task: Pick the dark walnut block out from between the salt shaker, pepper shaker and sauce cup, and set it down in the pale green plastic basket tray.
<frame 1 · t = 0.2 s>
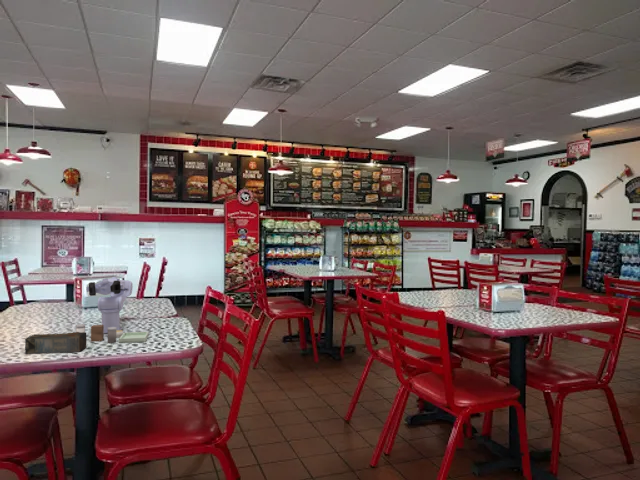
hand: (101, 289, 191), 21 cm above the table, tool horizontal, fingers open, 7 cm apart
walnut block: (97, 340, 193), on the table
basket tray: (134, 339, 195), on the table
salt shaker: (80, 339, 194), on the table
sauce cup: (117, 336, 200), on the table
beverage carton: (56, 351, 175), on the table
pepper shaker: (112, 342, 189), on the table
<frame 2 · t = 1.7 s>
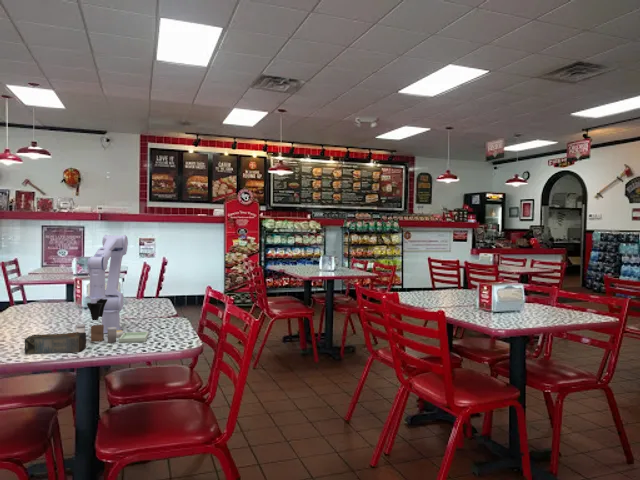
hand: (97, 318, 193), 9 cm above the table, tool pointing down, fingers open, 7 cm apart
nothing on the table moved.
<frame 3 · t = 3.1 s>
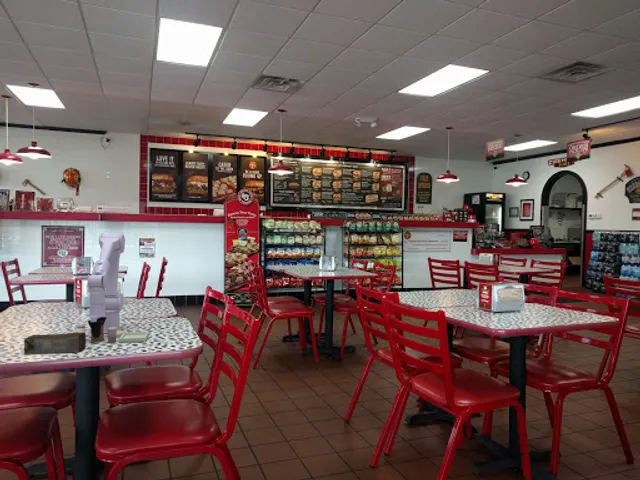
hand: (97, 336, 193), 2 cm above the table, tool pointing down, fingers closed on walnut block, 4 cm apart
walnut block: (97, 340, 193), on the table, touching gripper
everything else where it was.
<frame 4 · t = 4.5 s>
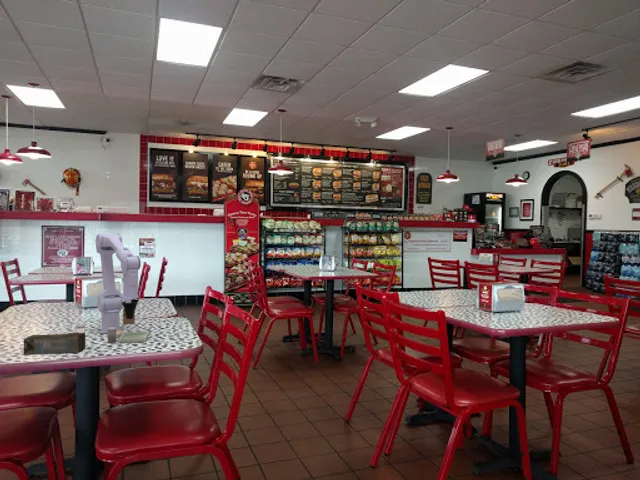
hand: (130, 318, 194), 9 cm above the table, tool pointing down, fingers closed on walnut block, 4 cm apart
walnut block: (129, 323, 194), point 7 cm above the table, touching gripper
everything else where it was.
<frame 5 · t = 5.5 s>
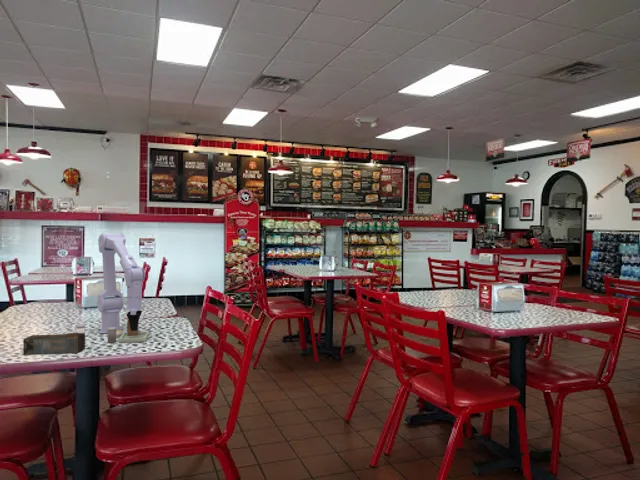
hand: (134, 329, 195), 4 cm above the table, tool pointing down, fingers closed on walnut block, 4 cm apart
walnut block: (132, 334, 195), point 2 cm above the table, touching gripper
when the fingers open (3 cm above the table, at t = 6.1 s): walnut block stays where it is, resting on basket tray.
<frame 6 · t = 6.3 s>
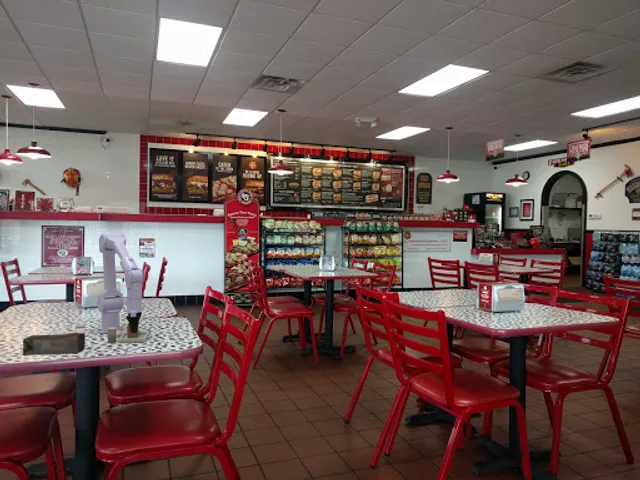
hand: (134, 331, 195), 3 cm above the table, tool pointing down, fingers open, 6 cm apart
walnut block: (132, 338, 195), point 1 cm above the table, touching basket tray
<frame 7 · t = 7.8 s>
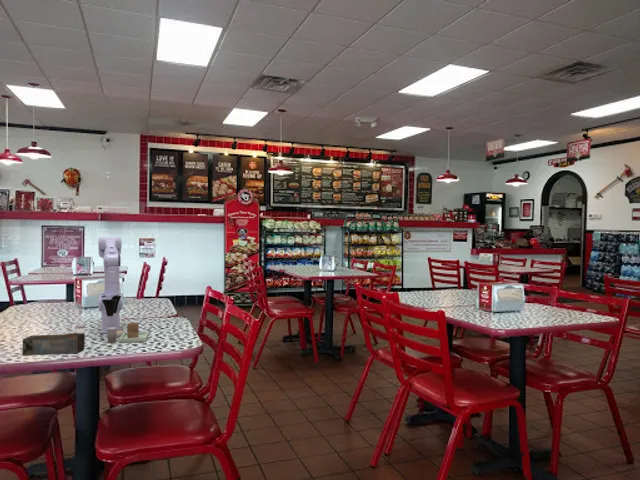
hand: (111, 314, 197), 10 cm above the table, tool pointing down, fingers open, 7 cm apart
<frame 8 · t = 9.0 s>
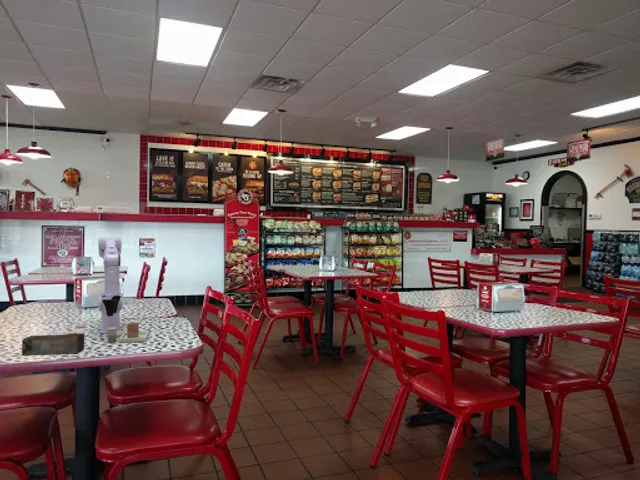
hand: (111, 314, 197), 10 cm above the table, tool pointing down, fingers open, 7 cm apart
at the end: walnut block inside the target area on the basket tray (0.5 cm from its centre), point 0.6 cm above the basket tray's base; walnut block tilted 0°; the gripper is holding nothing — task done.
